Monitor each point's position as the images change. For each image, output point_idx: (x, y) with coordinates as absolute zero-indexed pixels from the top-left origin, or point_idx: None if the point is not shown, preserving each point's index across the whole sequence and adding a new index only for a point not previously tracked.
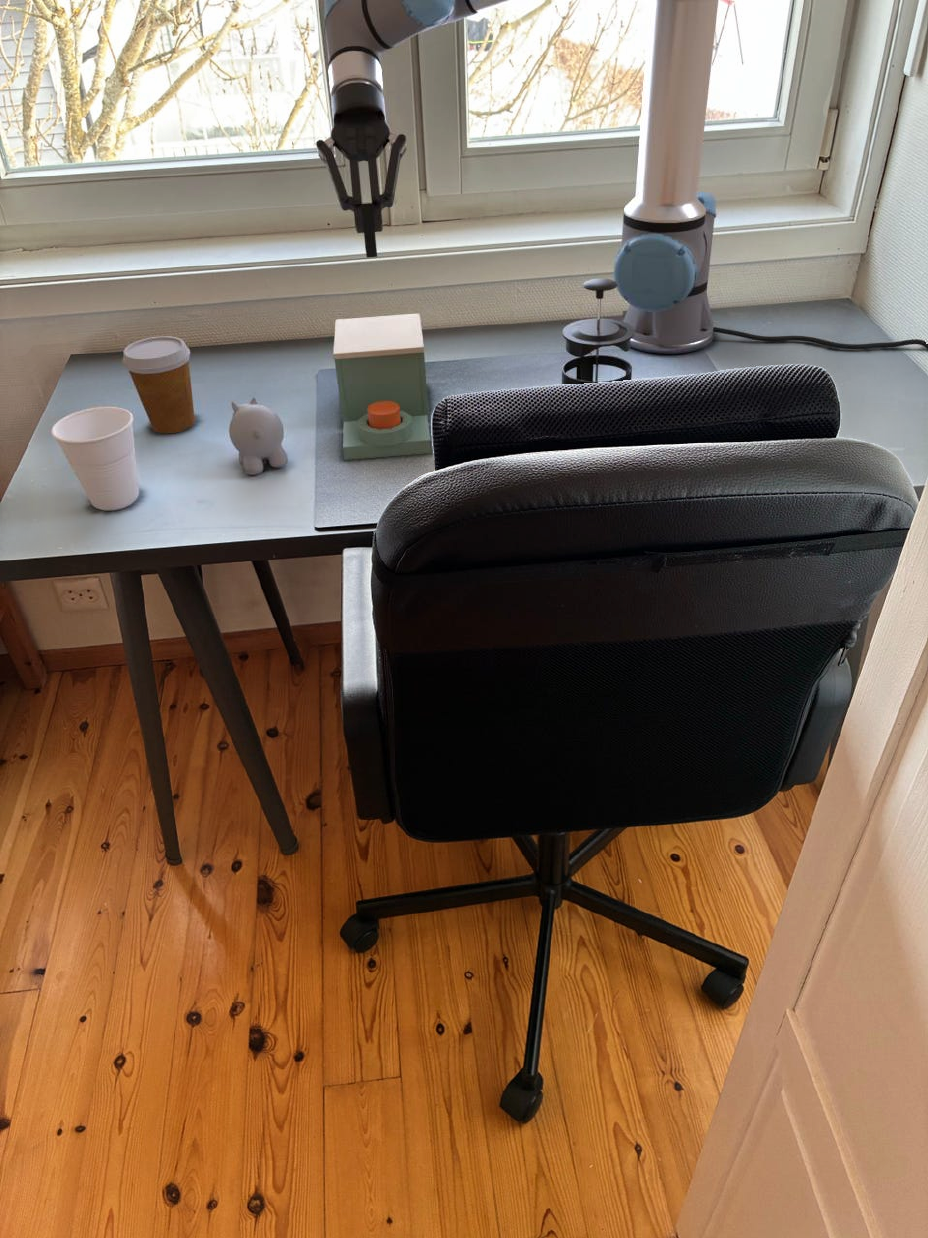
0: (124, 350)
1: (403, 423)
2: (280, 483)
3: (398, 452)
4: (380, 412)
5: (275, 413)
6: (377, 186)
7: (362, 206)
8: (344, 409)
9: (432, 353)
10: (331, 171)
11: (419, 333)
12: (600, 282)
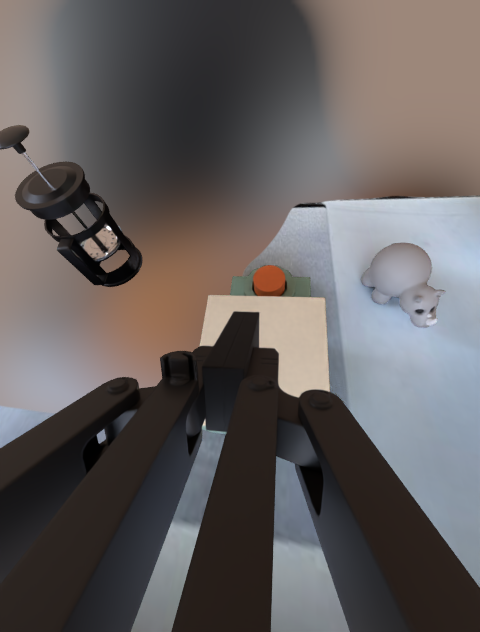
0: None
1: (252, 277)
2: (362, 259)
3: None
4: (272, 269)
5: (382, 264)
6: (141, 416)
7: (242, 361)
8: None
9: (177, 566)
10: (464, 584)
11: (204, 337)
12: (9, 131)
